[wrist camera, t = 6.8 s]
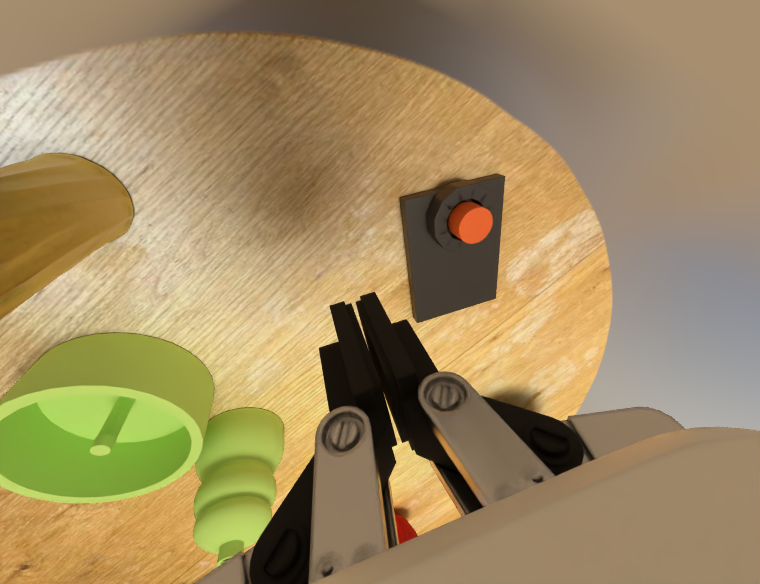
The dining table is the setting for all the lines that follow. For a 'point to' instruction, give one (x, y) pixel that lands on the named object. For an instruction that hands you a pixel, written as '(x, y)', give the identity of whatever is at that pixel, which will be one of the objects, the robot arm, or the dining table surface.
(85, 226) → the vase
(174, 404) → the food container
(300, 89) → the dining table surface
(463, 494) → the robot arm
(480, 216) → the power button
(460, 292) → the button base plate
